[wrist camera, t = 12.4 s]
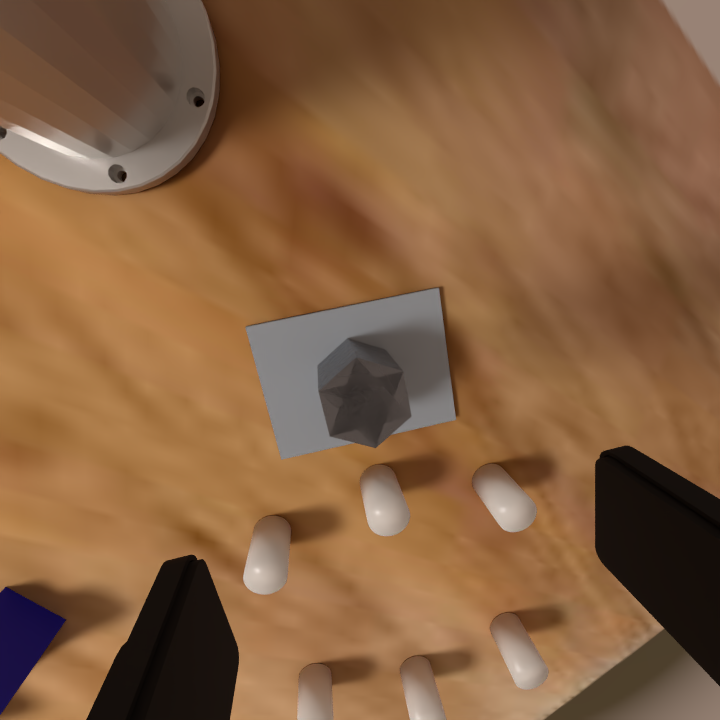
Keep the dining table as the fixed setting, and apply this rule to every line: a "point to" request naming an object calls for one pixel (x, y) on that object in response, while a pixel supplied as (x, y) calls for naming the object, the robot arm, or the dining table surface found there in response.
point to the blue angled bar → (22, 639)
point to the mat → (323, 335)
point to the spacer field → (388, 519)
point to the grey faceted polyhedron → (362, 393)
